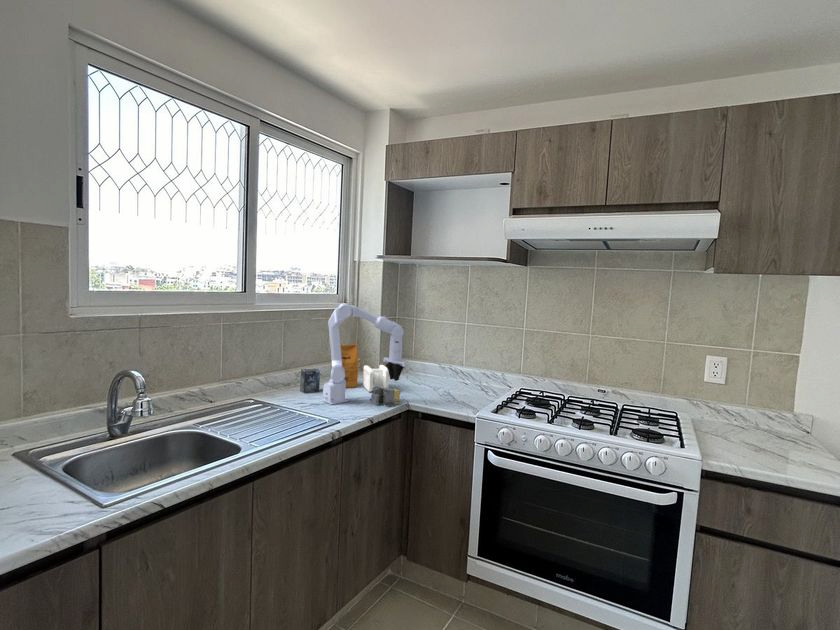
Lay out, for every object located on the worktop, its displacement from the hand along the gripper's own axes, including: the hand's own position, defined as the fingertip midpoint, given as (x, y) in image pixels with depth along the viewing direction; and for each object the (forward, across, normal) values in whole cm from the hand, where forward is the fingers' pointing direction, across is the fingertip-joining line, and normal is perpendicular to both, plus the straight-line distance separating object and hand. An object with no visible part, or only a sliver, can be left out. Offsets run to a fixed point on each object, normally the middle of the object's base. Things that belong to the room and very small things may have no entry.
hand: (394, 379), depth 206 cm
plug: (+10, 0, +5) cm, 11 cm away
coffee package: (+10, +36, +2) cm, 37 cm away
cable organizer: (+10, +22, -6) cm, 25 cm away
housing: (+10, 0, +6) cm, 12 cm away
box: (+10, +36, +22) cm, 44 cm away
